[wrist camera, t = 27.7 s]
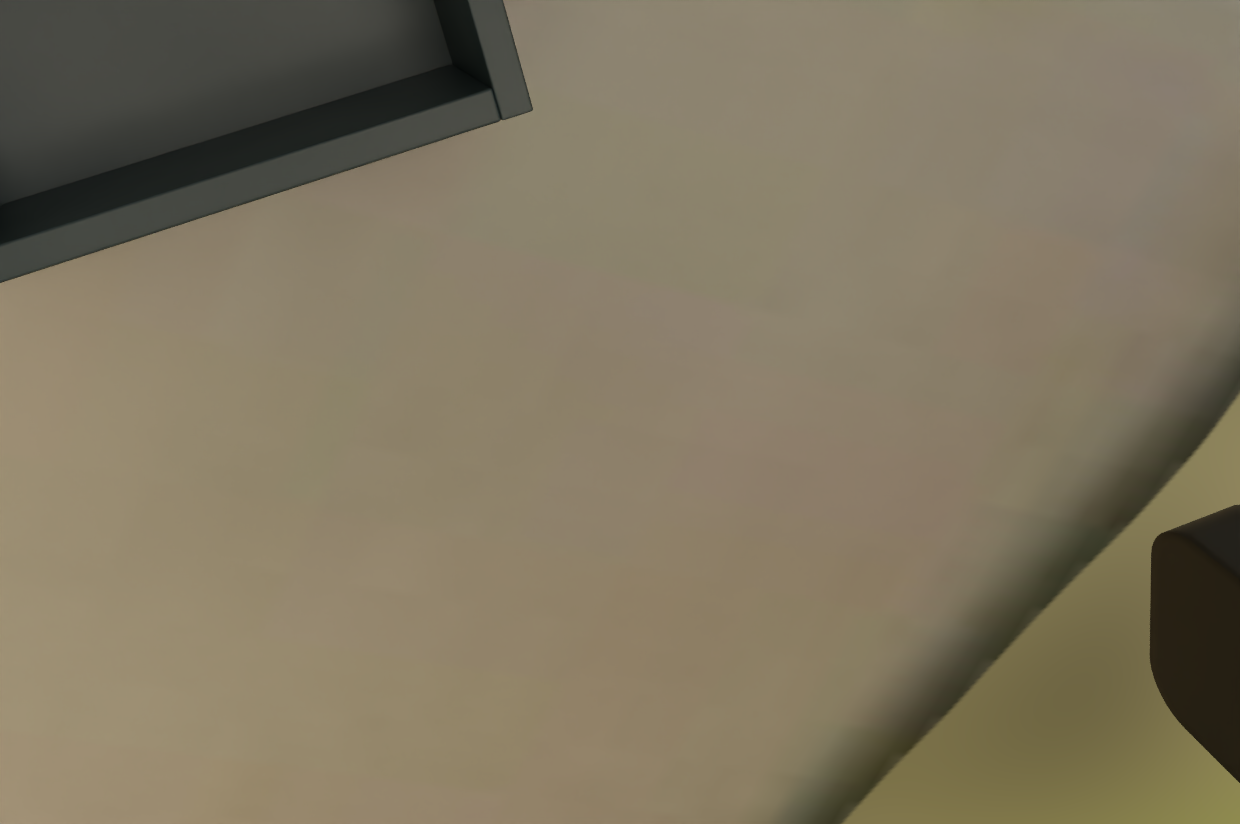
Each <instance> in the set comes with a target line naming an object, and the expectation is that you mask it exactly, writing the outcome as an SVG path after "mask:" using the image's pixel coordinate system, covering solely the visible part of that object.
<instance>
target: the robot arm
mask: <svg viewBox="0 0 1240 824" xmlns="http://www.w3.org/2000/svg"><path fill="white" fill-rule="evenodd" d="M1150 614H1151V615H1150V663H1151V668H1152V672H1153V676H1154V679H1155V682H1156V684H1157V687H1158V689H1159V691H1160V693H1161V695H1162V697H1163V699H1164V701H1165V703H1166V704H1167V706H1168V707H1169V709H1170V711H1171V712H1172V713H1173V715H1174V716H1175V717H1176V719H1177V720H1178V721H1179V722H1180V723H1181V725H1182V726H1184V728H1185V729H1186V730H1187V731H1188V732H1189V733H1190V734H1191V735H1192V736H1193V737H1194V738H1195V739H1196V740H1197V741H1198V742H1199V743H1200V744H1201V745H1202V746H1203V747H1204V748H1205V749H1206V750H1207V751H1208V752H1209V753H1210V754H1211V755H1212V756H1213V757H1214V758H1215V759H1216V760H1217V761H1218V762H1219V763H1220V764H1221V765H1222V766H1223V767H1224V768H1225V769H1226V770H1227V771H1228V772H1229V773H1230V774H1231V775H1232V776H1233V777H1234V778H1235V779H1236V780H1237V781H1238V782H1239V783H1240V505H1234V506H1231V507H1229V508H1226V509H1223V510H1221V511H1218V512H1216V513H1213V514H1210V515H1208V516H1206V517H1203V518H1200V519H1197V520H1195V521H1192V522H1190V523H1187V524H1185V525H1182V526H1179V527H1177V528H1174V529H1172V530H1169V531H1166V532H1164V533H1161V534H1160V535H1159V536H1157V538H1156V539H1155V541H1154V543H1153V546H1152V553H1151V610H1150Z"/></svg>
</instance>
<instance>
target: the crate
mask: <svg viewBox="0 0 1240 824" xmlns="http://www.w3.org/2000/svg"><path fill="white" fill-rule="evenodd" d="M532 110H533V107H532V104H531V100H530V97H529V93H528V89H527V86H526V82H525V79H524V75H523V71H522V68H521V64H520V61H519V57H518V53H517V50H516V46H515V43H514V39H513V35H512V32H511V28H510V25H509V21H508V17H507V14H506V10H505V7H504V3H503V0H0V283H2V282H5V281H8V280H11V279H14V278H17V277H20V276H23V275H26V274H29V273H32V272H36V271H39V270H42V269H45V268H48V267H51V266H54V265H57V264H60V263H63V262H66V261H70V260H73V259H76V258H79V257H82V256H85V255H88V254H91V253H94V252H97V251H100V250H104V249H107V248H110V247H113V246H116V245H119V244H122V243H125V242H128V241H131V240H134V239H138V238H141V237H144V236H147V235H150V234H153V233H156V232H159V231H162V230H165V229H168V228H171V227H175V226H178V225H181V224H184V223H187V222H190V221H193V220H196V219H199V218H202V217H205V216H209V215H212V214H215V213H218V212H221V211H224V210H227V209H230V208H233V207H236V206H239V205H243V204H246V203H249V202H252V201H255V200H258V199H261V198H264V197H267V196H270V195H273V194H277V193H280V192H283V191H286V190H289V189H292V188H295V187H298V186H301V185H304V184H307V183H310V182H314V181H317V180H320V179H323V178H326V177H329V176H332V175H335V174H338V173H341V172H344V171H348V170H351V169H354V168H357V167H360V166H363V165H366V164H369V163H372V162H375V161H378V160H382V159H385V158H388V157H391V156H394V155H397V154H400V153H403V152H406V151H409V150H412V149H416V148H419V147H422V146H425V145H428V144H431V143H434V142H437V141H440V140H443V139H446V138H449V137H453V136H456V135H459V134H462V133H465V132H468V131H471V130H474V129H477V128H480V127H483V126H487V125H490V124H493V123H496V122H499V121H500V119H501V120H506V119H509V118H512V117H515V116H518V115H521V114H524V113H527V112H530V111H532Z"/></svg>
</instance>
